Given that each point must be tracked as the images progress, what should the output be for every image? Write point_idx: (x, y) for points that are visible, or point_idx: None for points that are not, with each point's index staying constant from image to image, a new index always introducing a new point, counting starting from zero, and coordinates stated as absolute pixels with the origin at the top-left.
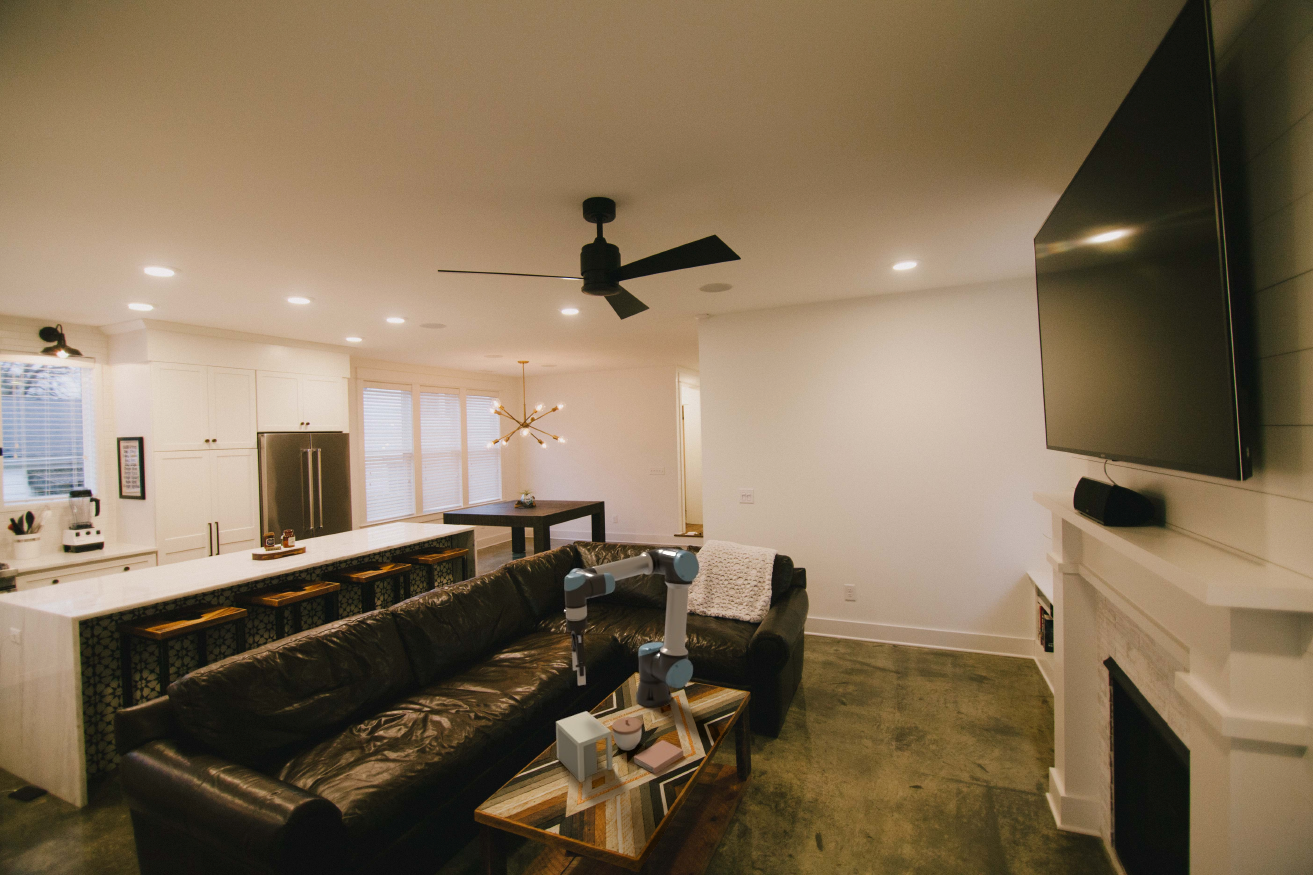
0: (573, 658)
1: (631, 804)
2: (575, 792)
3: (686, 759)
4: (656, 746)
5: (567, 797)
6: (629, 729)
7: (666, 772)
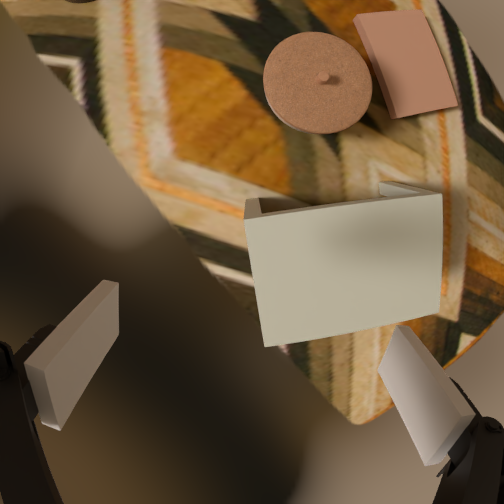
0: (81, 385)
1: (497, 204)
2: None
3: (430, 20)
4: (380, 44)
5: None
6: (362, 91)
7: (455, 83)
